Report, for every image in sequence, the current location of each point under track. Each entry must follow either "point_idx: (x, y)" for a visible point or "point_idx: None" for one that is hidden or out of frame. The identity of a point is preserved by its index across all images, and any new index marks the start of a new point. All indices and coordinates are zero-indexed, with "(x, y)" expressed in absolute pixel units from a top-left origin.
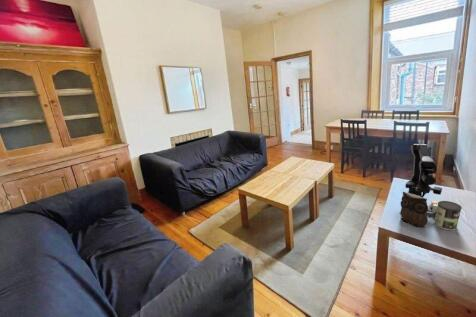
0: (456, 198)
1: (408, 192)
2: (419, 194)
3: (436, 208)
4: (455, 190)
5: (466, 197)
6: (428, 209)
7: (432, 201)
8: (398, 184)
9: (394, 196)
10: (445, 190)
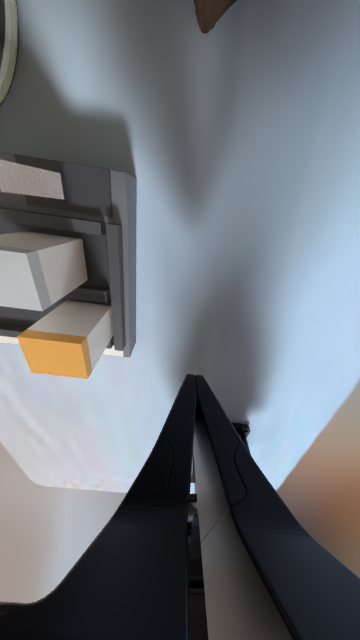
0: (53, 449)
1: (247, 443)
2: (238, 445)
3: (10, 240)
4: (77, 485)
5: (30, 461)
6: (112, 240)
7: (77, 365)
8: (272, 480)
9: (334, 391)
10: (104, 480)
